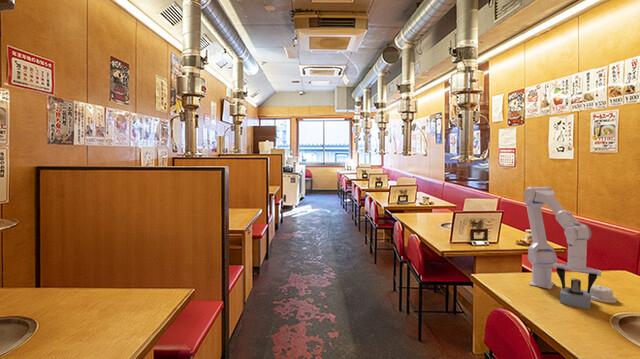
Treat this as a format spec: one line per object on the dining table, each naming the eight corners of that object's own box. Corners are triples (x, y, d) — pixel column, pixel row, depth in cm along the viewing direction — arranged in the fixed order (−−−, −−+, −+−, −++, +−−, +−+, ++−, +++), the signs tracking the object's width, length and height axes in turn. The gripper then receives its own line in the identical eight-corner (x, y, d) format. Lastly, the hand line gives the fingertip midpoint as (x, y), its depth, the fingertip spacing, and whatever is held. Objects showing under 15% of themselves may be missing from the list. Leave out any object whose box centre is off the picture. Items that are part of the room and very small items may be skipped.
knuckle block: (562, 295, 134) (562, 286, 134) (591, 301, 128) (591, 291, 128) (559, 302, 127) (560, 292, 127) (589, 309, 121) (590, 299, 121)
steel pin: (571, 300, 129) (571, 277, 129) (580, 302, 127) (581, 279, 127) (569, 302, 127) (570, 279, 127) (579, 304, 125) (580, 281, 125)
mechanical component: (585, 291, 138) (583, 298, 131) (585, 281, 138) (583, 288, 131) (616, 298, 132) (616, 306, 124) (617, 287, 131) (617, 294, 124)
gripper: (552, 254, 128) (551, 288, 129) (601, 261, 119) (599, 298, 119) (555, 250, 134) (554, 283, 134) (601, 257, 124) (600, 292, 125)
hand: (575, 290), depth 127 cm, fingers open, 7 cm apart
